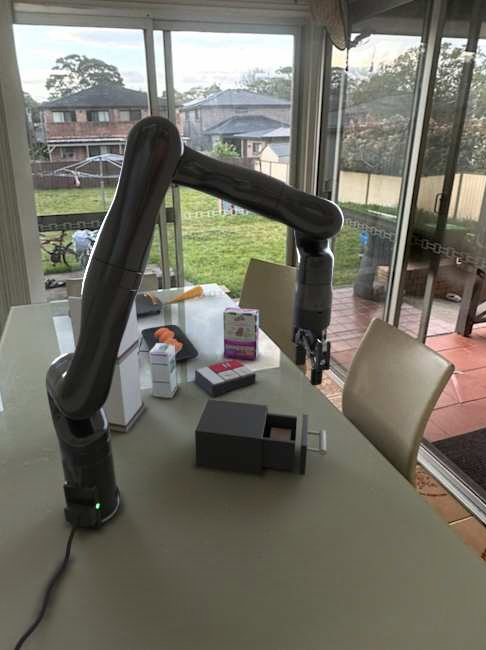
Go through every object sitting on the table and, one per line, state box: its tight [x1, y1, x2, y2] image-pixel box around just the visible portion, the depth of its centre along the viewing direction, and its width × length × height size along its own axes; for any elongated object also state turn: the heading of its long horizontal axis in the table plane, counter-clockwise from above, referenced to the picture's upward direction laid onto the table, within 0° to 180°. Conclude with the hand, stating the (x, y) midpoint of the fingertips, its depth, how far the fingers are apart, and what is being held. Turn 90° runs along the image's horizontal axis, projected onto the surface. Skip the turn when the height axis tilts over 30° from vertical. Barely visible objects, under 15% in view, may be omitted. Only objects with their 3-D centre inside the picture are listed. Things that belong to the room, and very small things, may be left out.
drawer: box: [261, 412, 328, 476], centre depth 99 cm, size 18×11×8 cm, turn 78°
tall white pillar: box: [67, 295, 145, 433], centre depth 110 cm, size 11×11×35 cm
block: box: [270, 427, 291, 440], centre depth 100 cm, size 4×4×4 cm
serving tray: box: [67, 291, 164, 319], centre depth 185 cm, size 39×23×6 cm, turn 118°
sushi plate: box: [137, 324, 199, 362], centre depth 153 cm, size 29×30×4 cm
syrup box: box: [148, 343, 178, 399], centre depth 125 cm, size 6×6×14 cm
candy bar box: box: [223, 307, 260, 361], centre depth 146 cm, size 11×5×16 cm, turn 76°
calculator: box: [194, 358, 257, 398], centre depth 132 cm, size 11×4×15 cm
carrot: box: [166, 285, 204, 304], centre depth 202 cm, size 20×4×4 cm, turn 130°
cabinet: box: [194, 399, 269, 476], centre depth 102 cm, size 15×13×10 cm
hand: (307, 373), depth 93 cm, fingers open, 8 cm apart
